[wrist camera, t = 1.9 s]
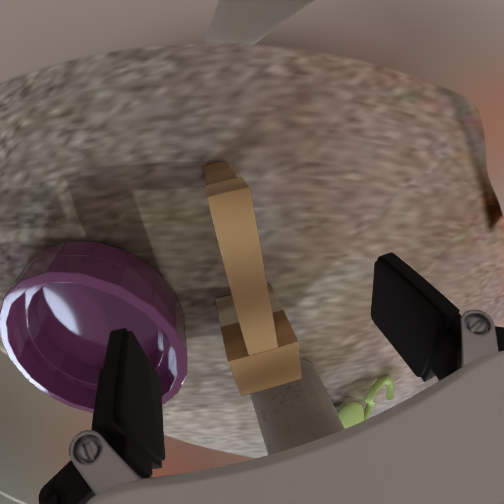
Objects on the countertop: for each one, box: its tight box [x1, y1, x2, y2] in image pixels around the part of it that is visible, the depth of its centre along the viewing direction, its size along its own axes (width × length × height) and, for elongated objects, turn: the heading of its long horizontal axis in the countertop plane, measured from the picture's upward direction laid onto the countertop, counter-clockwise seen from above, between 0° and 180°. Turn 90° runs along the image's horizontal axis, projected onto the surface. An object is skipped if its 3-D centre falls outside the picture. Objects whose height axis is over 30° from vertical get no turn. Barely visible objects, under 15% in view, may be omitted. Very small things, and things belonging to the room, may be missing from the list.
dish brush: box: [202, 161, 302, 396], centre depth 20 cm, size 15×5×7 cm, turn 10°
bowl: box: [0, 241, 187, 413], centre depth 21 cm, size 16×16×5 cm
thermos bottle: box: [250, 359, 345, 455], centre depth 20 cm, size 8×8×28 cm
